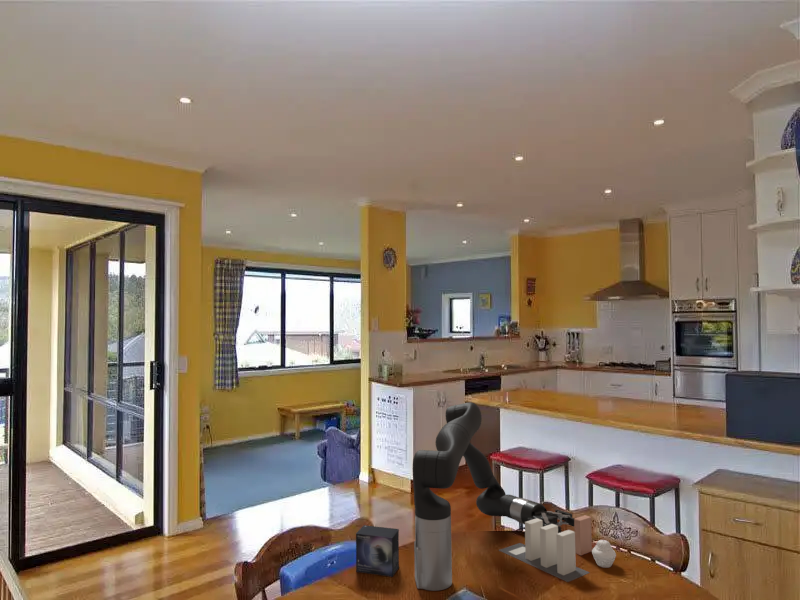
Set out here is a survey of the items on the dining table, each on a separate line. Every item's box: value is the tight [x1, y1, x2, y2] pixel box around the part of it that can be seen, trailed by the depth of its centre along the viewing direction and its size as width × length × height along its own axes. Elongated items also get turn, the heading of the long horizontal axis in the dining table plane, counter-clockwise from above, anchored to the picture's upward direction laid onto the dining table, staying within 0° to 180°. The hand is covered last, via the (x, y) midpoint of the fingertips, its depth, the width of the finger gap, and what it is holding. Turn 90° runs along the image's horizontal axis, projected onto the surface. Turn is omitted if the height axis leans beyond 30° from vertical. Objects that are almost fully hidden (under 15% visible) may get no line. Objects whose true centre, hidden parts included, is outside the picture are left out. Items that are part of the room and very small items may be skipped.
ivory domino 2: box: [540, 524, 559, 568], centre depth 150 cm, size 2×5×10 cm, turn 125°
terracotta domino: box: [573, 515, 593, 556], centre depth 158 cm, size 2×5×10 cm, turn 125°
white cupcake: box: [591, 539, 617, 569], centre depth 150 cm, size 6×6×7 cm
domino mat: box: [498, 542, 591, 583], centre depth 152 cm, size 24×9×1 cm, turn 35°
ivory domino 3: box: [556, 529, 577, 575], centre depth 146 cm, size 2×5×10 cm, turn 125°
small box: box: [355, 524, 400, 578], centre depth 149 cm, size 11×6×10 cm, turn 73°
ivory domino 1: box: [524, 518, 543, 561], centre depth 155 cm, size 2×5×10 cm, turn 125°
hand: (570, 527), depth 162 cm, fingers open, 8 cm apart
